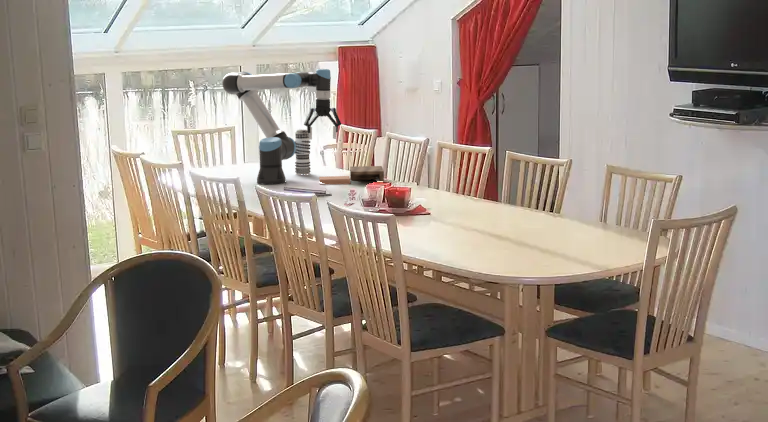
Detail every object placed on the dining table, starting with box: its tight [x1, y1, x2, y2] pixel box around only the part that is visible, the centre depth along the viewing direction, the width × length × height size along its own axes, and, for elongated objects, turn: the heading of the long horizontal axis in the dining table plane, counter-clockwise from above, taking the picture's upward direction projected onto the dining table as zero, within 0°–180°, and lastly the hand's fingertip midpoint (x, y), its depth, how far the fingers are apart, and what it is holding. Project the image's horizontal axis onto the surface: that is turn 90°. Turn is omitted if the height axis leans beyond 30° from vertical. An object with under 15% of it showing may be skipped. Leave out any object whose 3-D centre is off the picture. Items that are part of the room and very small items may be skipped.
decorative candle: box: [294, 129, 312, 176], centre depth 533 cm, size 9×9×25 cm
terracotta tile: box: [318, 175, 351, 185], centre depth 505 cm, size 16×11×3 cm
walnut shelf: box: [349, 165, 385, 182], centre depth 505 cm, size 17×20×7 cm
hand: (322, 138), depth 505 cm, fingers open, 13 cm apart
